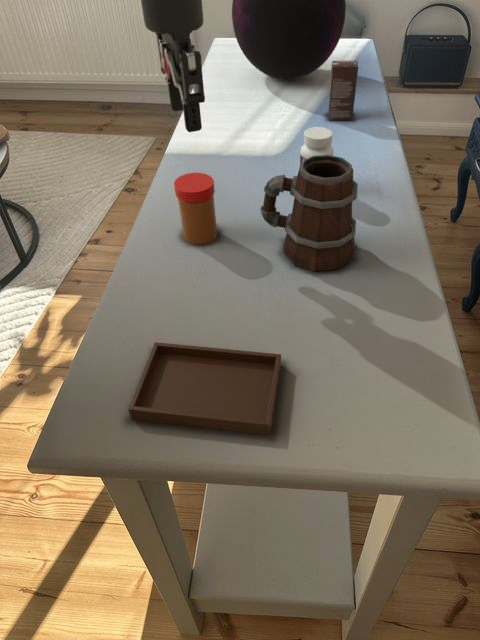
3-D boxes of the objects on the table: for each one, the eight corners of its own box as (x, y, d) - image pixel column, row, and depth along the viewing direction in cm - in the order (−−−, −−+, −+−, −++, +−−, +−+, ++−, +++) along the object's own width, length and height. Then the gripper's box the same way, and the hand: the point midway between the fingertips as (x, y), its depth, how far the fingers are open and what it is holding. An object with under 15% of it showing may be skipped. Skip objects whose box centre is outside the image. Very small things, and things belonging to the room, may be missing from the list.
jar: (179, 243, 84) (171, 193, 77) (187, 224, 88) (180, 174, 81) (213, 246, 83) (208, 195, 76) (220, 226, 87) (215, 176, 80)
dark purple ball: (335, 59, 149) (347, -69, 126) (342, 96, 128) (358, -48, 106) (238, 58, 150) (233, -68, 127) (230, 95, 129) (222, -48, 107)
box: (351, 113, 121) (357, 59, 112) (352, 121, 118) (359, 66, 109) (327, 113, 121) (331, 59, 112) (327, 120, 118) (332, 66, 109)
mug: (354, 233, 85) (366, 150, 74) (350, 276, 77) (364, 190, 66) (266, 225, 87) (266, 143, 76) (254, 266, 79) (252, 181, 68)
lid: (170, 201, 78) (168, 191, 76) (180, 181, 82) (179, 171, 81) (210, 204, 77) (209, 193, 76) (218, 184, 81) (217, 173, 80)
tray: (131, 419, 59) (127, 409, 58) (157, 352, 67) (154, 341, 65) (270, 435, 57) (270, 425, 56) (280, 364, 65) (281, 354, 63)
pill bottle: (306, 179, 99) (309, 123, 90) (334, 186, 97) (340, 129, 88) (293, 193, 95) (295, 135, 87) (322, 200, 93) (327, 142, 85)
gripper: (127, -27, 62) (150, 106, 74) (152, -2, 53) (174, 144, 65) (183, -32, 64) (196, 98, 76) (217, -9, 55) (226, 134, 67)
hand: (186, 119), depth 71 cm, fingers open, 7 cm apart
